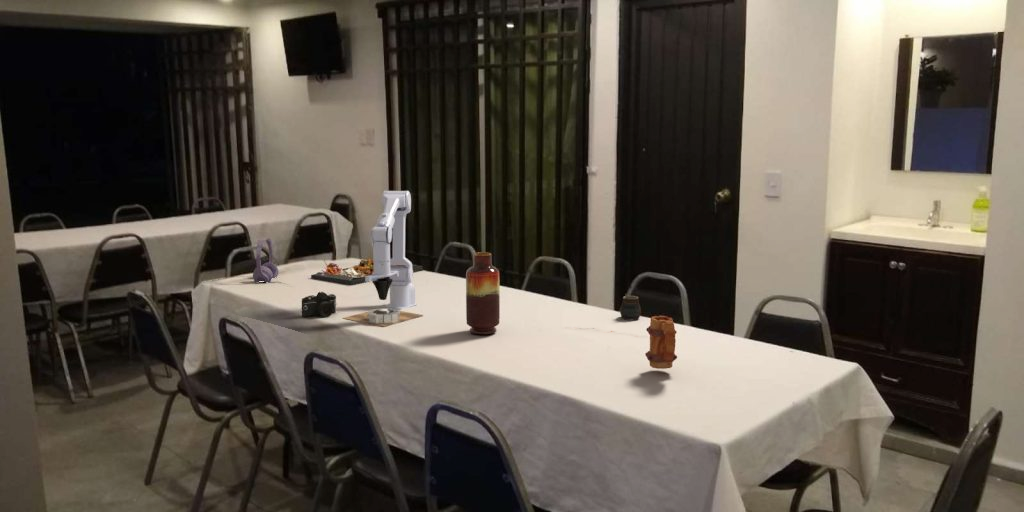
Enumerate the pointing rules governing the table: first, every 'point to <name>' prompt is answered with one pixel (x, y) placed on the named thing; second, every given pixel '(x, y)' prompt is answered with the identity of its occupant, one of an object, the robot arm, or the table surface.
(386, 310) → the cap
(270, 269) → the headphones
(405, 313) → the board
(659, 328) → the mug
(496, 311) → the vase
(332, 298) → the film camera
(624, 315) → the mate gourd
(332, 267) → the food platter
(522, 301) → the table surface
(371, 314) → the grey faceted ring
